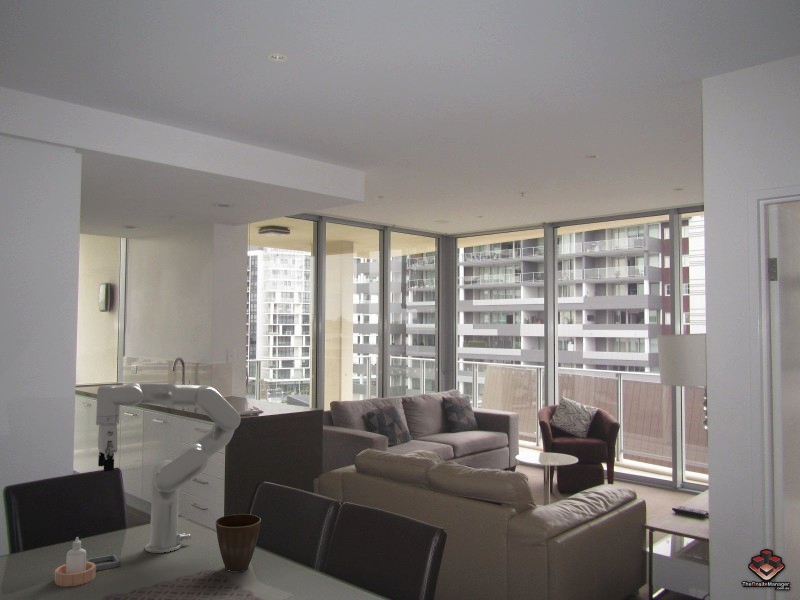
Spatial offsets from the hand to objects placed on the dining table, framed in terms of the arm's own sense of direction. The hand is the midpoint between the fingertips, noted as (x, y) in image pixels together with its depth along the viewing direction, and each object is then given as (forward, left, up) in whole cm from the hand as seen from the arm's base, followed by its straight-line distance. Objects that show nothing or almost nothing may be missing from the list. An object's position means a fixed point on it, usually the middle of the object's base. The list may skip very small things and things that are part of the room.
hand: (105, 468), depth 226 cm
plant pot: (-35, +38, -31) cm, 60 cm away
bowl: (+12, +19, -30) cm, 38 cm away
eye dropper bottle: (+11, +19, -30) cm, 37 cm away
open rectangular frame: (+2, +11, -30) cm, 32 cm away
